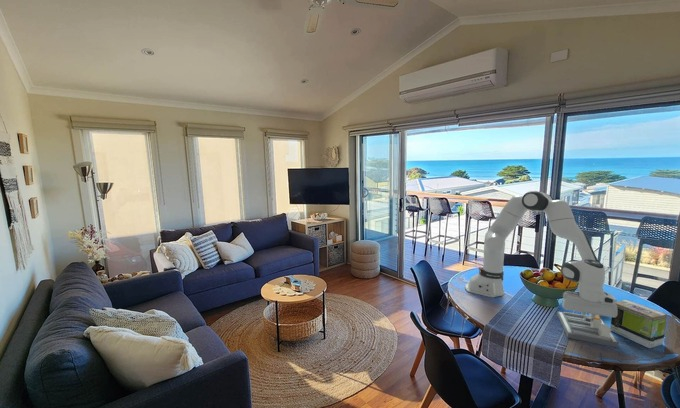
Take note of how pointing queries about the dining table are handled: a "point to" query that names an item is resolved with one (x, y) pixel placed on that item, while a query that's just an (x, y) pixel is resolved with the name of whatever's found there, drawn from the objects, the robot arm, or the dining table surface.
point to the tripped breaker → (596, 322)
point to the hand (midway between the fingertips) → (587, 321)
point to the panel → (586, 329)
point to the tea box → (639, 323)
